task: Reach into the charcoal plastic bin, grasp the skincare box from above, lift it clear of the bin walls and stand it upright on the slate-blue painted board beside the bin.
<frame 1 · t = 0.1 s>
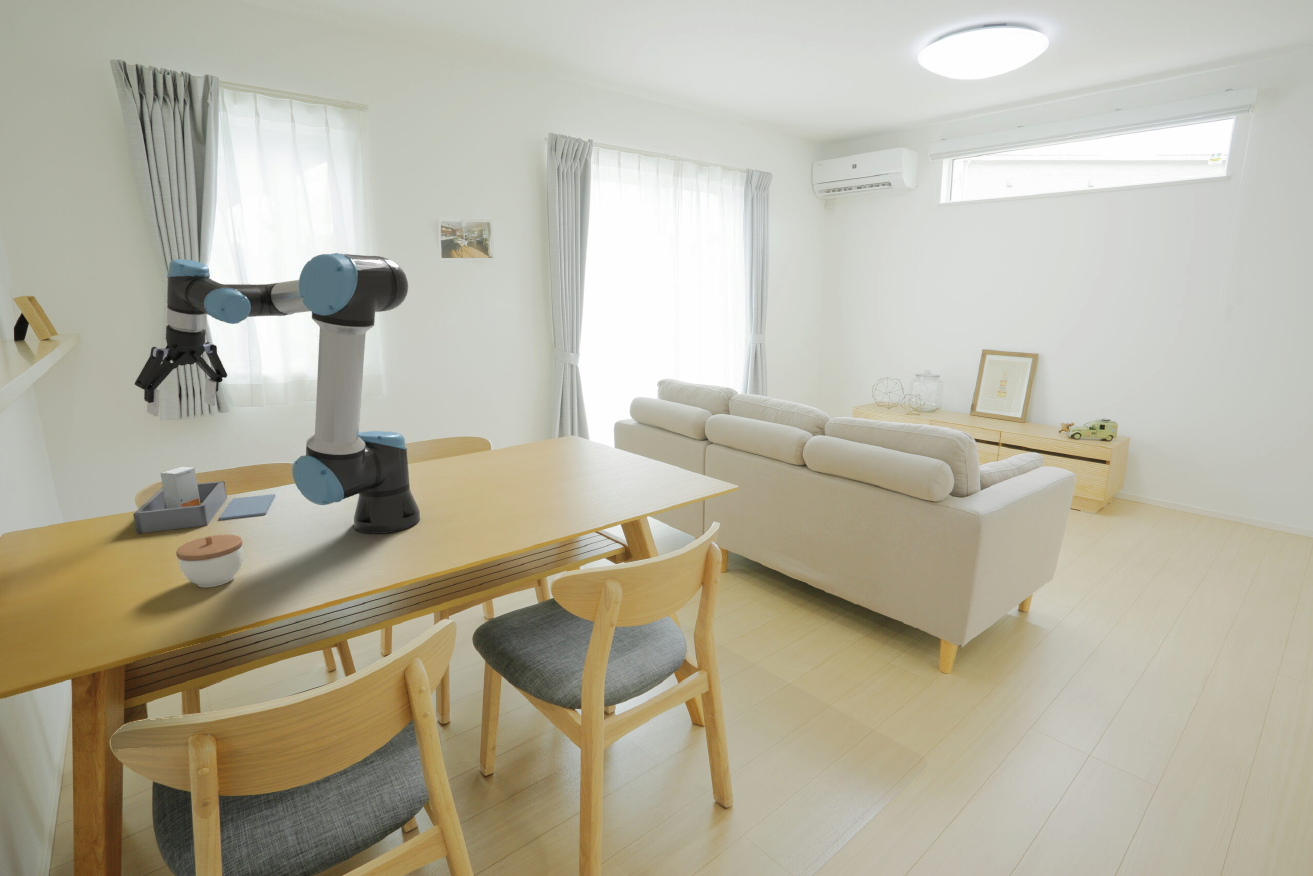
hand: (182, 408, 155), 28 cm above the table, tool tilted 20°, fingers open, 13 cm apart
skincare box: (185, 515, 162), resting in parts bin
lidded jar: (216, 581, 126), on the table
parts bin: (185, 514, 162), on the table
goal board: (249, 507, 167), on the table
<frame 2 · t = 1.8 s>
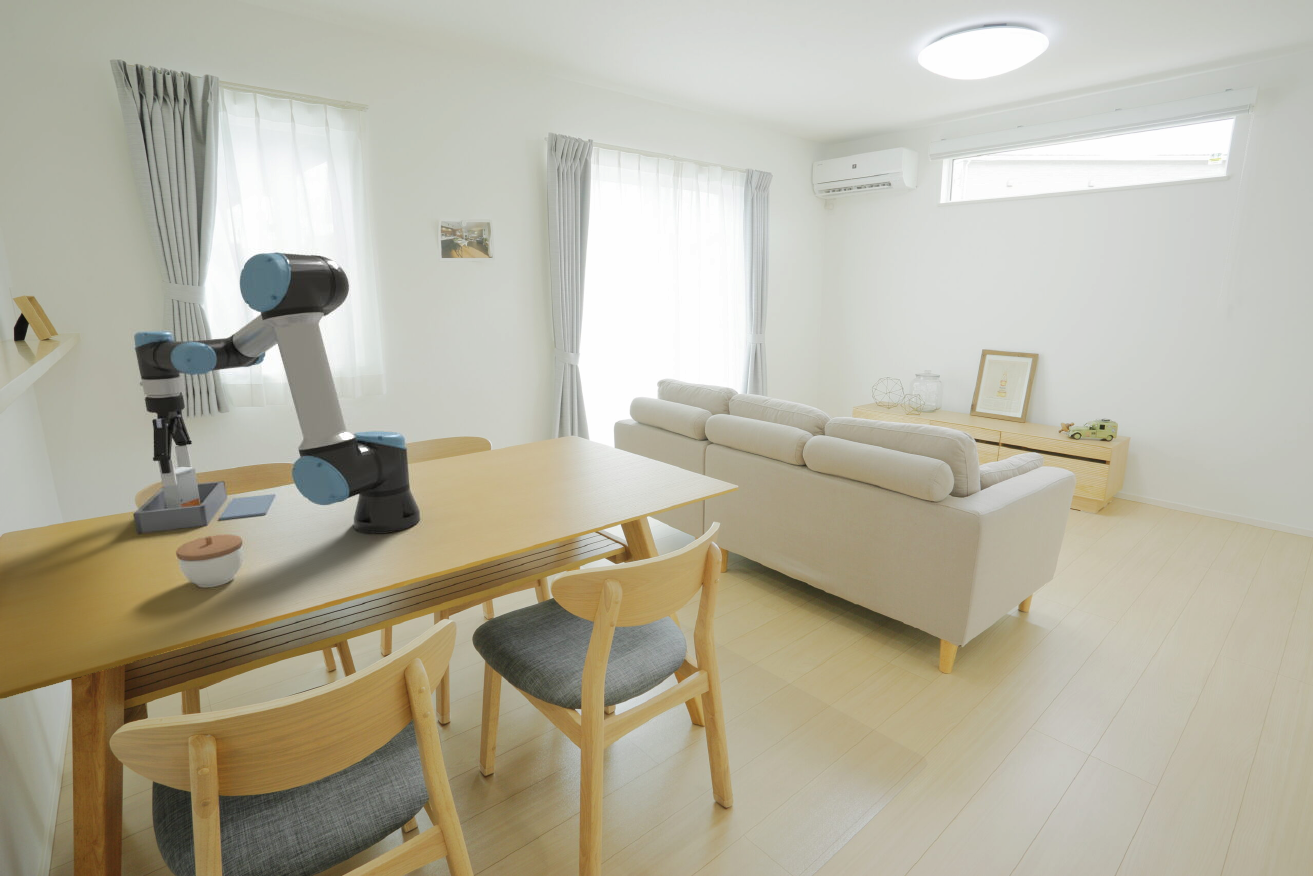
hand: (178, 477, 160), 10 cm above the table, tool pointing down, fingers open, 13 cm apart
nothing on the table moved.
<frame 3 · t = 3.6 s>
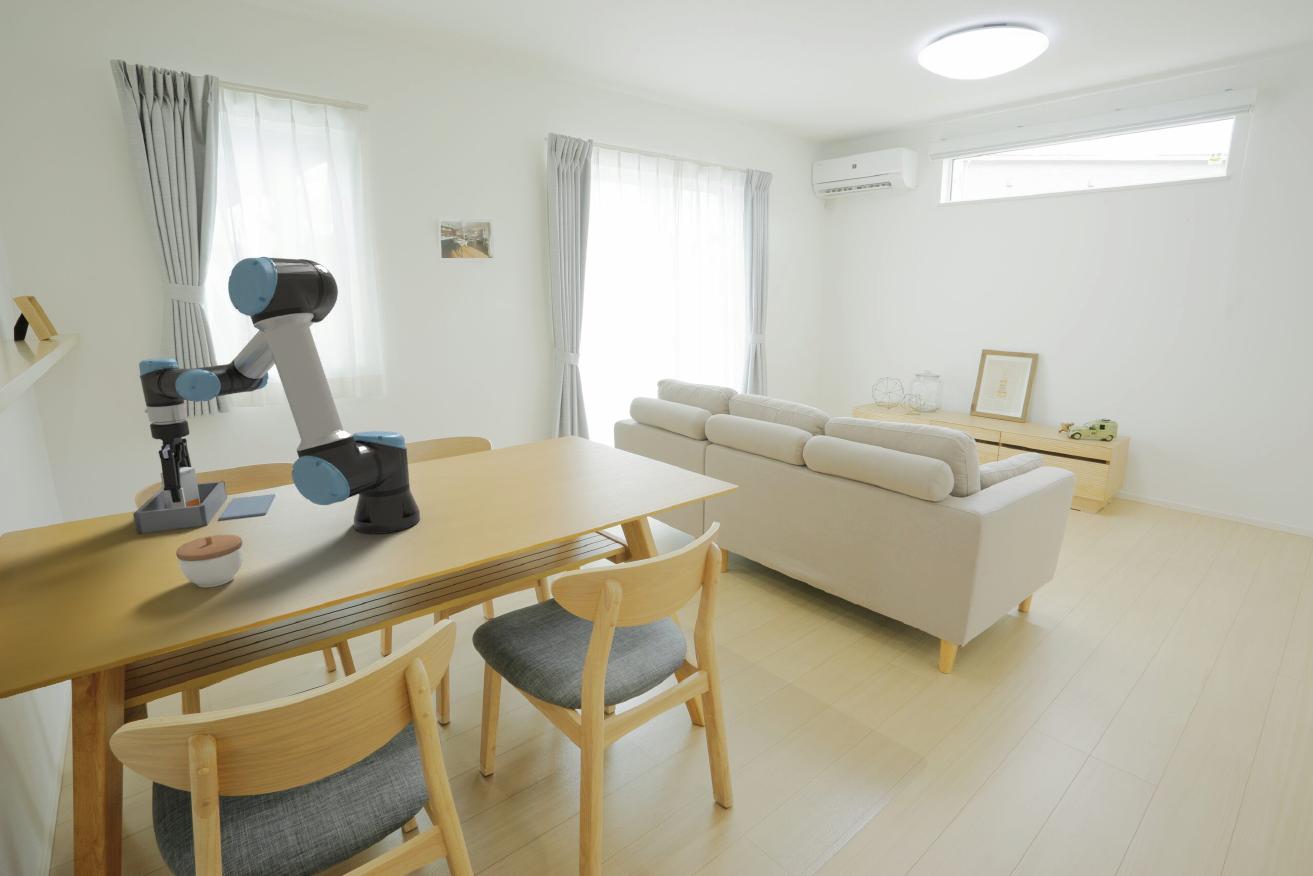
hand: (184, 508, 162), 2 cm above the table, tool pointing down, fingers closed on skincare box, 7 cm apart
skincare box: (185, 515, 162), resting in parts bin, touching gripper
everything else where it was.
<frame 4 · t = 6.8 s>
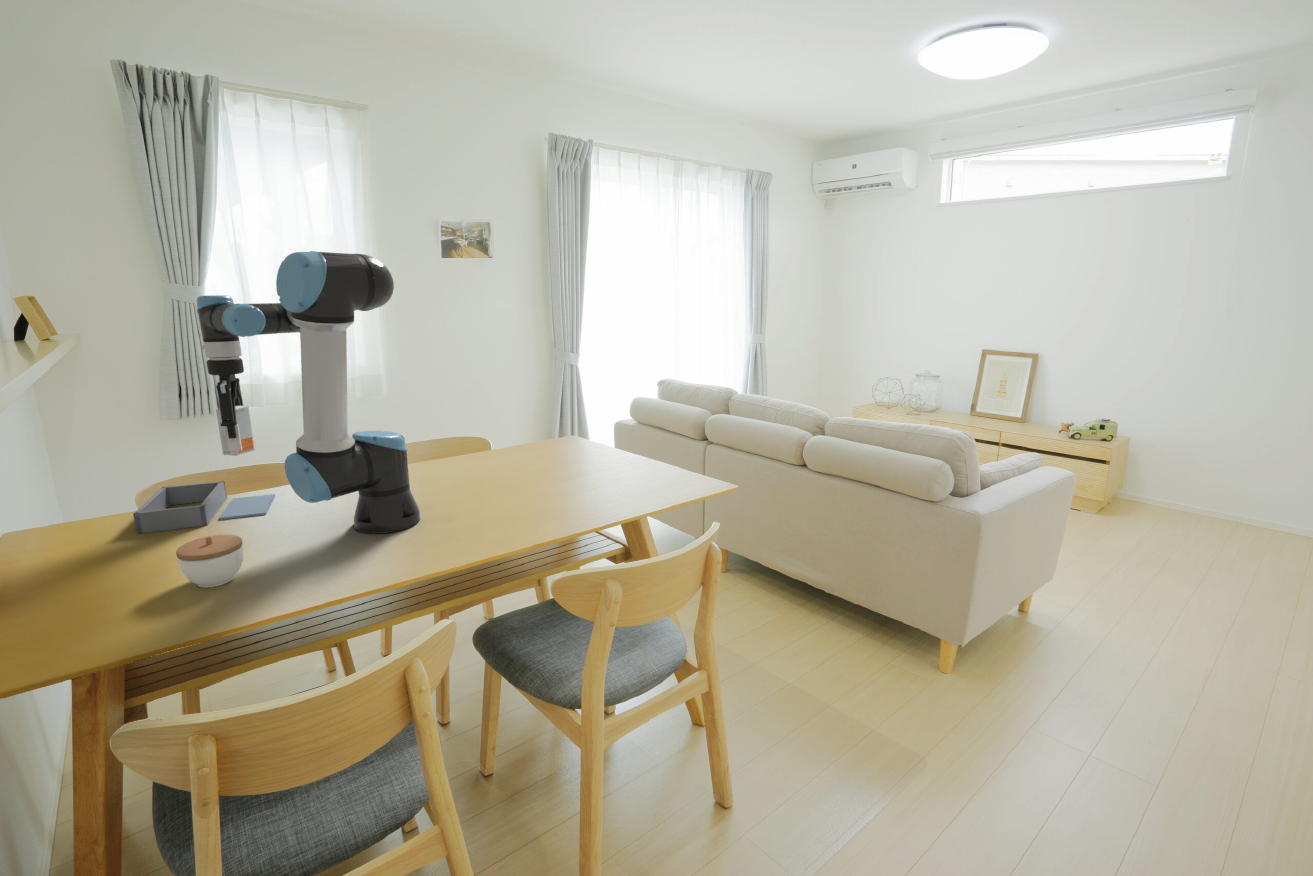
hand: (238, 446, 163), 17 cm above the table, tool pointing down, fingers closed on skincare box, 7 cm apart
skincare box: (239, 453, 164), point 15 cm above the table, touching gripper
everything else where it was.
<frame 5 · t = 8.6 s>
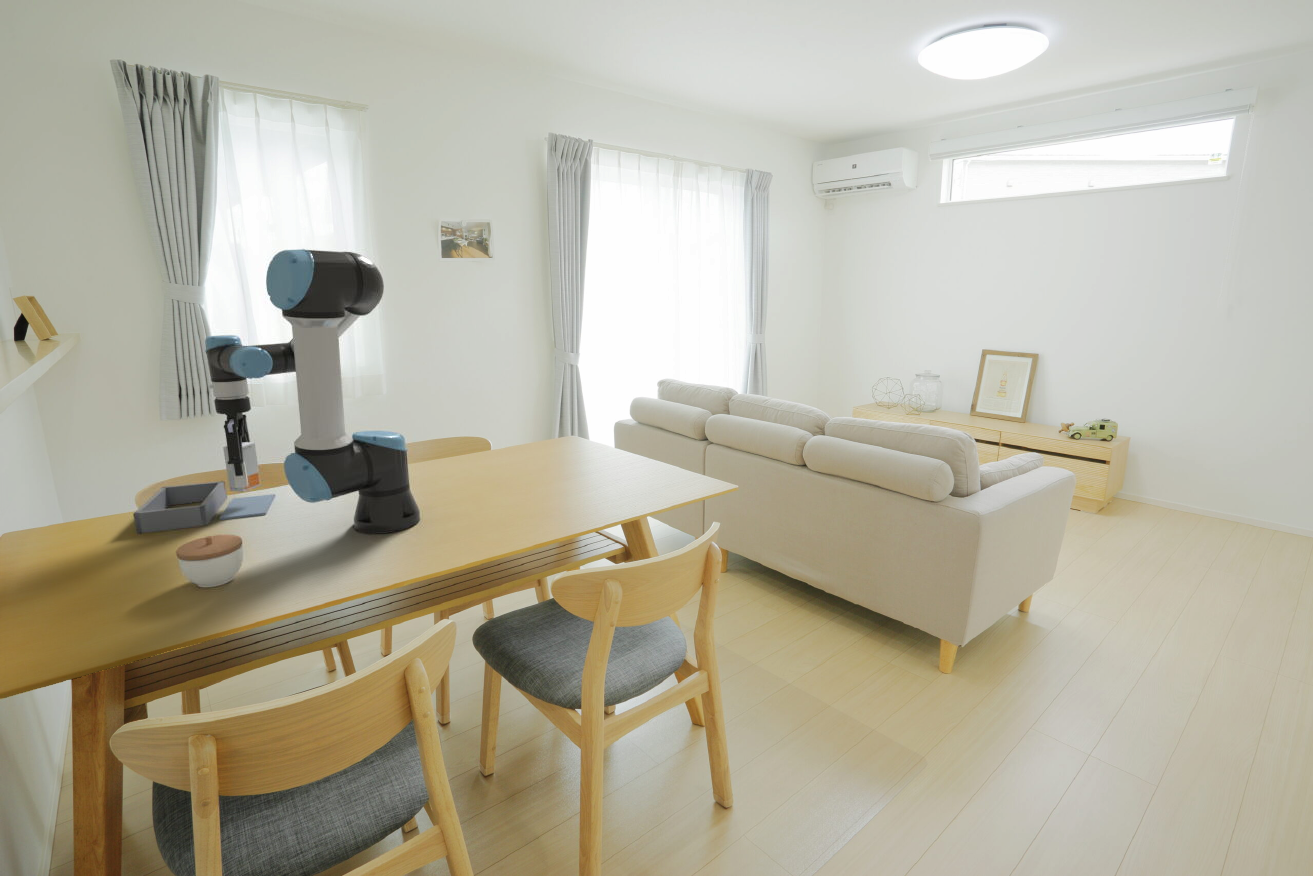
hand: (244, 482, 166), 7 cm above the table, tool pointing down, fingers closed on skincare box, 7 cm apart
skincare box: (246, 489, 166), point 5 cm above the table, touching gripper
everything else where it was.
when the fingers open (4 cm above the table, at t = 10.1 s): skincare box drops 2 cm, resting on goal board.
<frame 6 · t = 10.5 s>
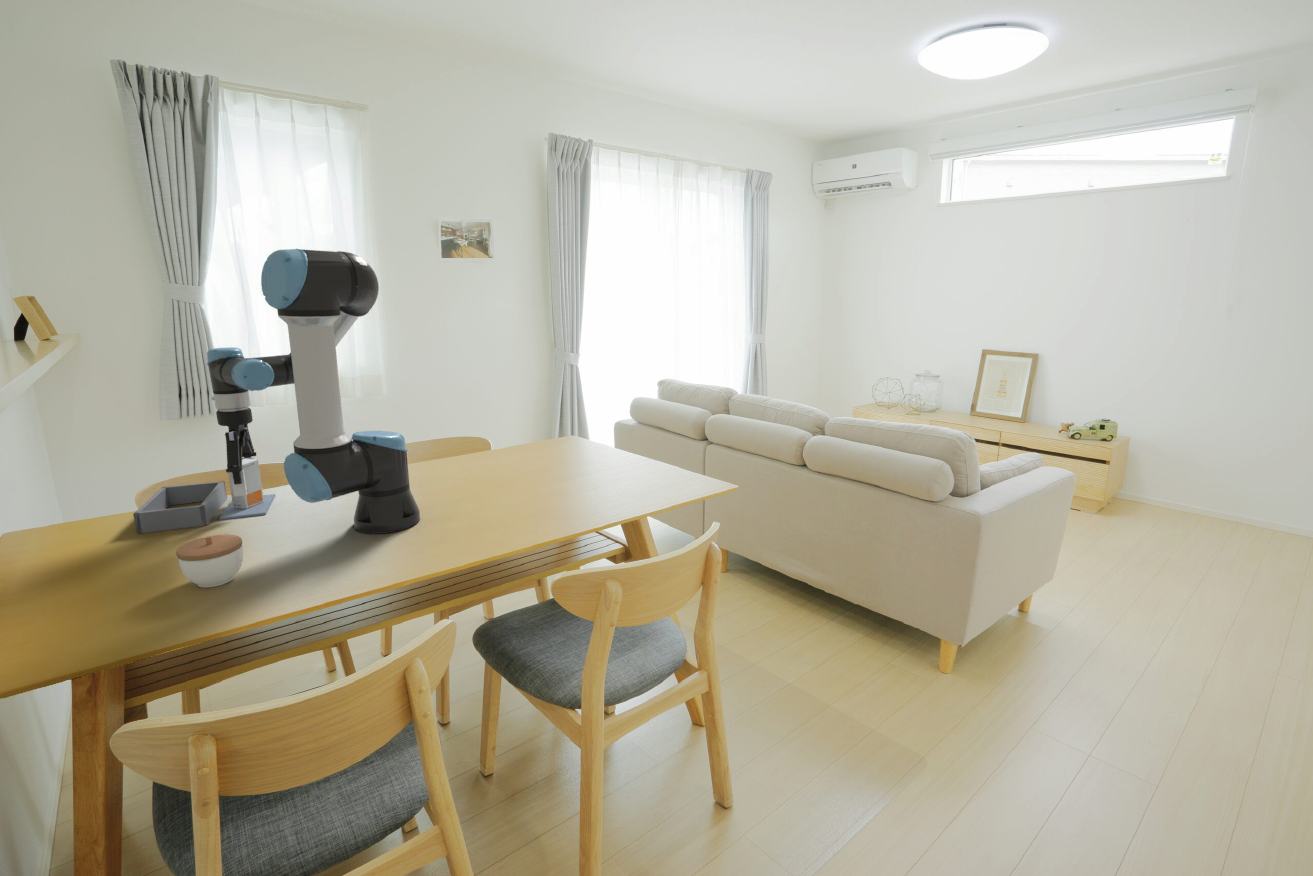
hand: (246, 488, 166), 5 cm above the table, tool pointing down, fingers open, 13 cm apart
skincare box: (249, 505, 167), resting on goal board
everything else where it was.
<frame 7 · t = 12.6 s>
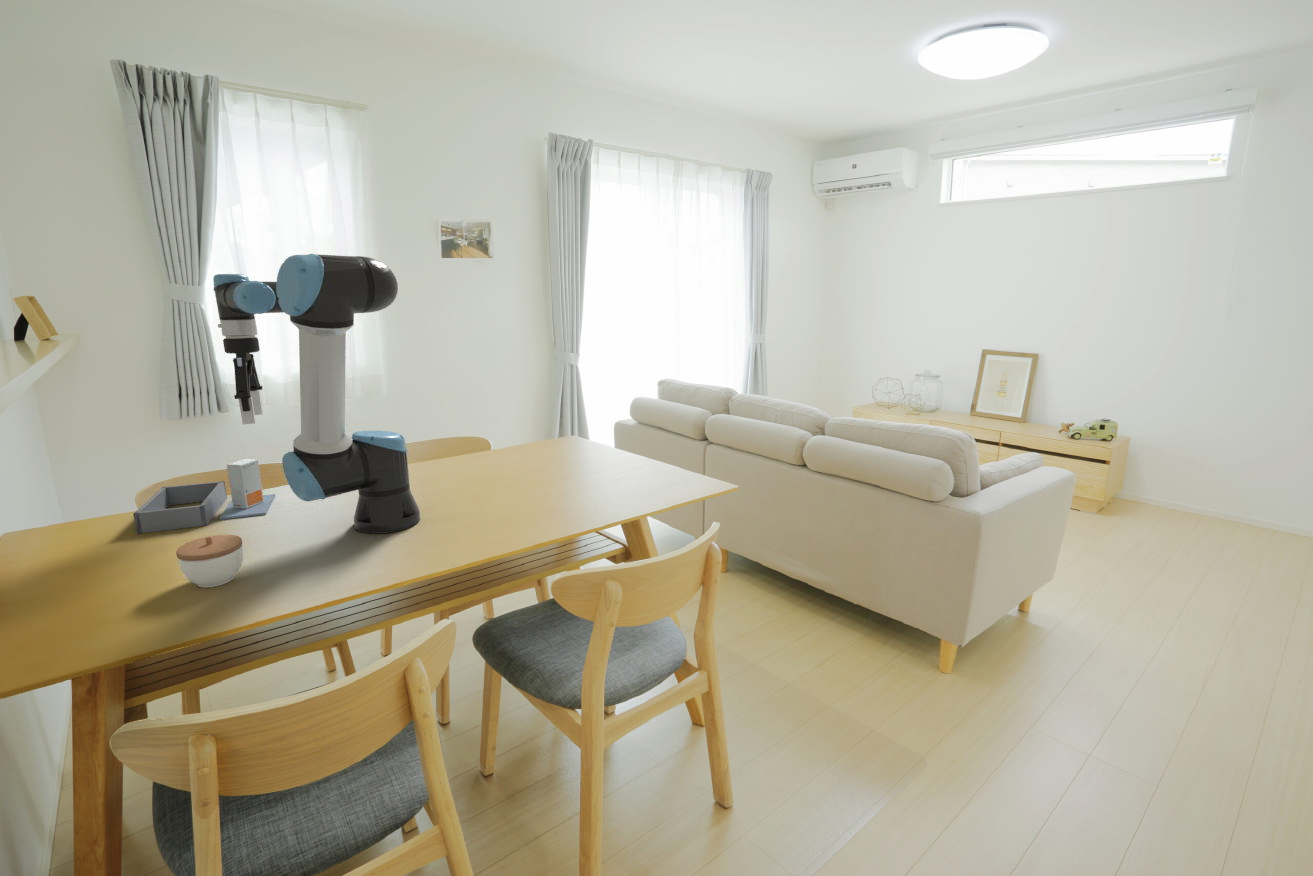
hand: (253, 419, 164), 23 cm above the table, tool pointing down, fingers open, 13 cm apart
nothing on the table moved.
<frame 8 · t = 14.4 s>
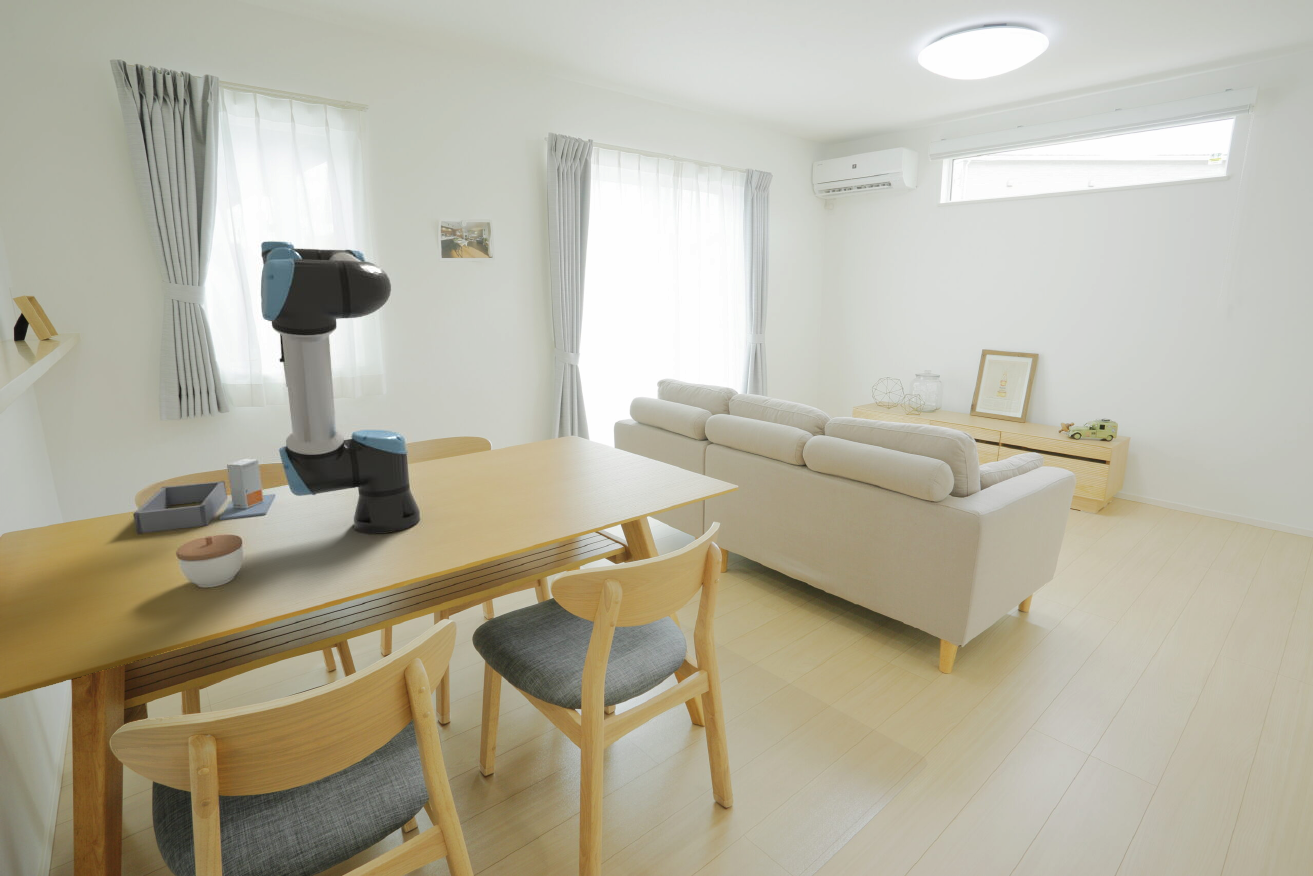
hand: (296, 383, 170), 32 cm above the table, tool pointing down, fingers open, 13 cm apart
nothing on the table moved.
at the end: skincare box inside the target area on the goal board (0.1 cm from its centre), point 0.4 cm above the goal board's base; skincare box tilted 0°; the gripper is holding nothing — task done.
